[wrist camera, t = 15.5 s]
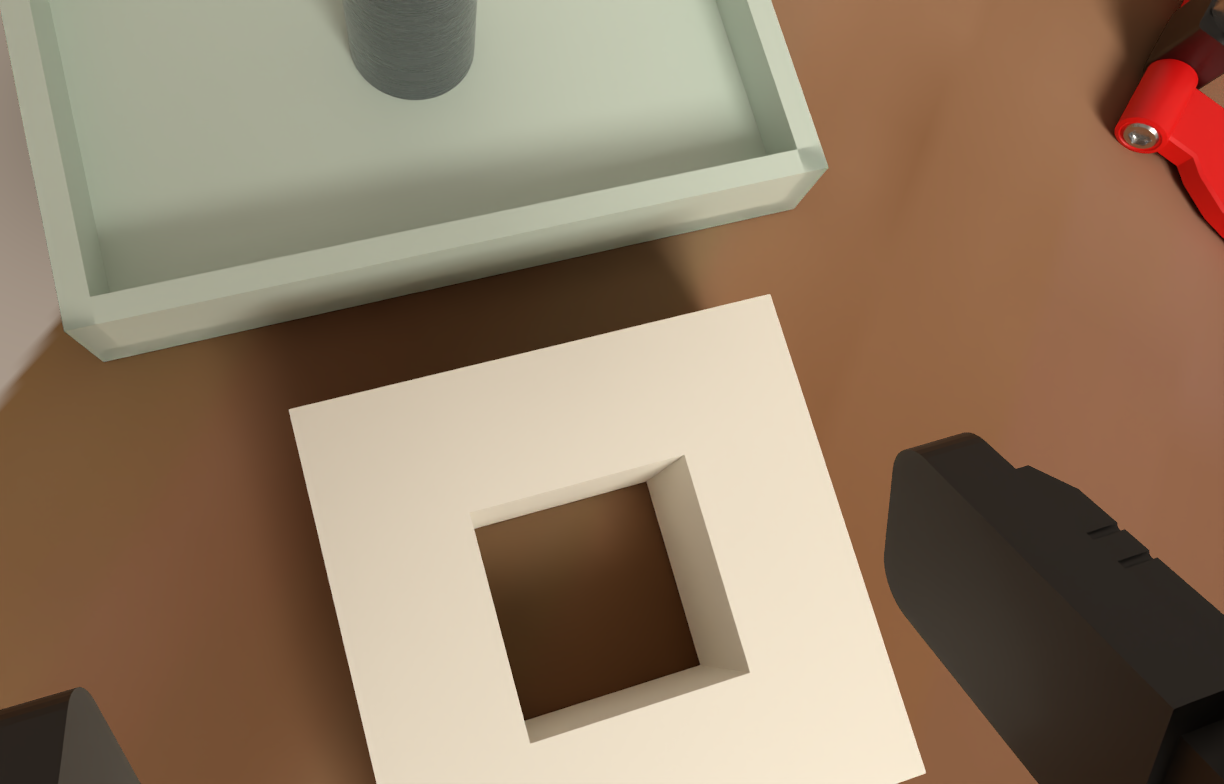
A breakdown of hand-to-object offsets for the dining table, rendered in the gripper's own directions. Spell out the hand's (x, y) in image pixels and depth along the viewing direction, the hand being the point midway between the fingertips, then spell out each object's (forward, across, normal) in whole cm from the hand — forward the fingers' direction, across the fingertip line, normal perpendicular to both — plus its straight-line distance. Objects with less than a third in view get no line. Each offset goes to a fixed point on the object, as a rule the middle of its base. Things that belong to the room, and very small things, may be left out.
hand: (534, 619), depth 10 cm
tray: (+19, -2, 0) cm, 19 cm away
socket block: (+9, -2, +10) cm, 14 cm away
